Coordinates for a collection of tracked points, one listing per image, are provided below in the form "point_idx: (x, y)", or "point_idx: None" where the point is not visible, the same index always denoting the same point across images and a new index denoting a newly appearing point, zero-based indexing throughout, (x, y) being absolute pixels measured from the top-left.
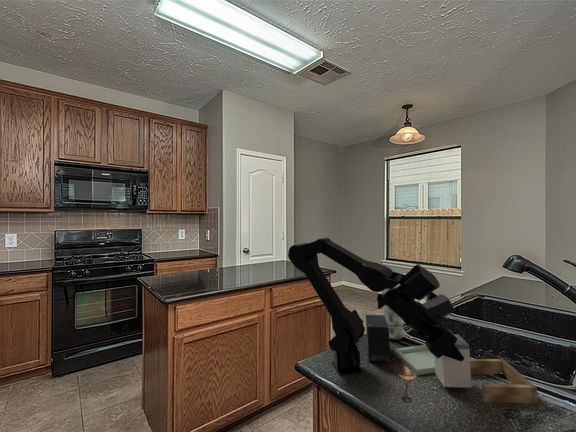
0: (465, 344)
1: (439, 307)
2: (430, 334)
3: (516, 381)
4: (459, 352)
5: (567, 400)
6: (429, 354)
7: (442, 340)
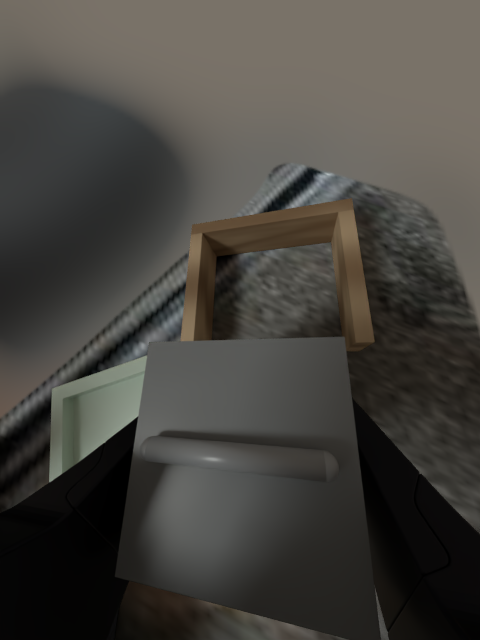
0: (340, 363)
1: None
2: (102, 588)
3: (277, 236)
4: (384, 436)
5: (317, 174)
6: (101, 412)
7: None
